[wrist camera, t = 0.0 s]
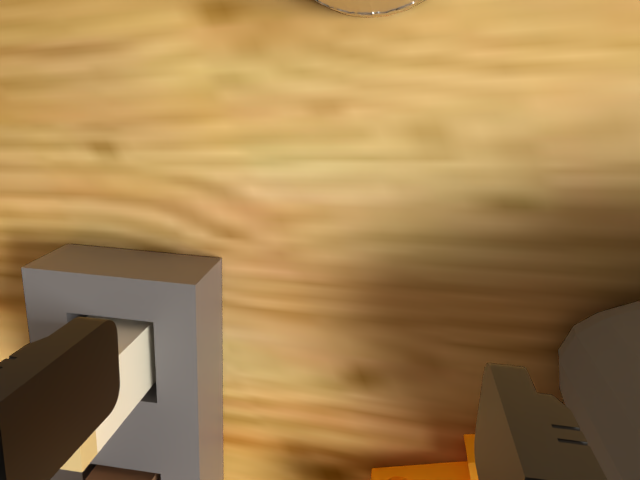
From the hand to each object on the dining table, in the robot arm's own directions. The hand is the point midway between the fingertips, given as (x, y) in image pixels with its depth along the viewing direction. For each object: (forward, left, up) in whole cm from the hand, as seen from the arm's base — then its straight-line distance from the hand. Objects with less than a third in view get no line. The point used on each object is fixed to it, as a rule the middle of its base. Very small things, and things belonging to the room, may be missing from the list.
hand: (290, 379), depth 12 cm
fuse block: (+13, -12, -17) cm, 24 cm away
